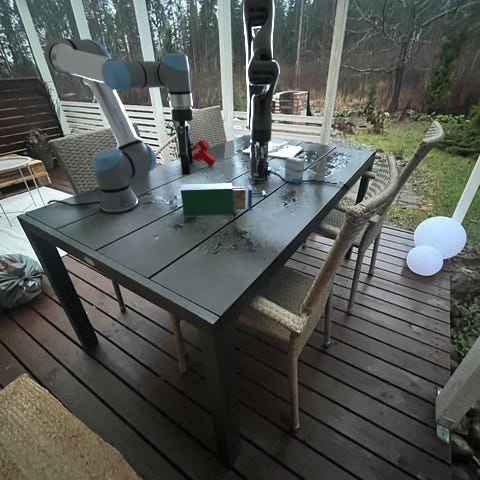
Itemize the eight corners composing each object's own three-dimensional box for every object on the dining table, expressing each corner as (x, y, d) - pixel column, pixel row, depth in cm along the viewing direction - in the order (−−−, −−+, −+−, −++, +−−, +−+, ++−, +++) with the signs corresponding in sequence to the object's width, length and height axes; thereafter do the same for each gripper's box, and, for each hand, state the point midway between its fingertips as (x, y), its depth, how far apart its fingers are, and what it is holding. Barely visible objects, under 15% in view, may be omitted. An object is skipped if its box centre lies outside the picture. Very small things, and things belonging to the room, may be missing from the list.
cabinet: (232, 207, 118) (232, 183, 112) (233, 213, 113) (232, 188, 107) (185, 208, 117) (182, 184, 111) (183, 215, 112) (180, 190, 106)
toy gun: (219, 159, 165) (203, 138, 161) (216, 161, 162) (200, 139, 158) (199, 174, 175) (184, 155, 171) (196, 176, 172) (181, 156, 168)
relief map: (291, 159, 177) (291, 151, 174) (243, 153, 190) (243, 145, 187) (302, 149, 197) (303, 142, 194) (258, 144, 211) (258, 137, 208)
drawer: (264, 204, 117) (265, 184, 112) (266, 209, 113) (267, 189, 108) (205, 206, 116) (204, 186, 111) (205, 211, 112) (203, 191, 107)
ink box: (302, 181, 142) (305, 159, 136) (297, 184, 139) (300, 161, 133) (289, 177, 147) (291, 156, 141) (284, 180, 144) (285, 158, 138)
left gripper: (175, 103, 103) (182, 159, 115) (164, 113, 82) (173, 180, 94) (195, 103, 104) (199, 159, 115) (189, 113, 83) (195, 179, 94)
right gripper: (249, 123, 103) (248, 168, 113) (252, 130, 92) (251, 179, 101) (268, 123, 104) (266, 167, 113) (274, 130, 92) (271, 179, 102)
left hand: (188, 168), depth 104 cm, fingers open, 13 cm apart
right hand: (259, 173), depth 107 cm, fingers closed
